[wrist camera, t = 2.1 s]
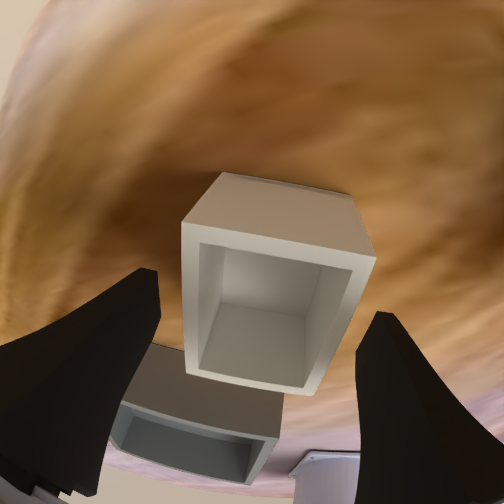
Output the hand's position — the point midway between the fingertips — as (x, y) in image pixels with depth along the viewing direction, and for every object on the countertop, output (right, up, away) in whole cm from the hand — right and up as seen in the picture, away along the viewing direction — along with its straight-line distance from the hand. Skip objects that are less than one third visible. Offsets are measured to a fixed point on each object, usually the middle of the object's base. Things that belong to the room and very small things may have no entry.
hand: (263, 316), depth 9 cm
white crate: (+1, +2, +3) cm, 4 cm away
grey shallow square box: (-5, -9, +11) cm, 15 cm away
